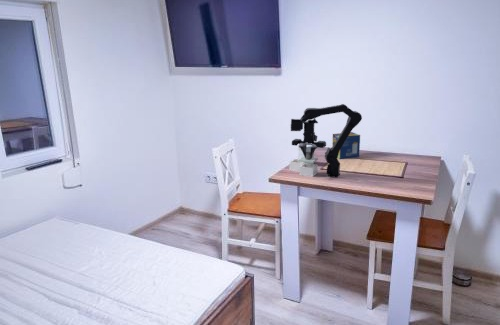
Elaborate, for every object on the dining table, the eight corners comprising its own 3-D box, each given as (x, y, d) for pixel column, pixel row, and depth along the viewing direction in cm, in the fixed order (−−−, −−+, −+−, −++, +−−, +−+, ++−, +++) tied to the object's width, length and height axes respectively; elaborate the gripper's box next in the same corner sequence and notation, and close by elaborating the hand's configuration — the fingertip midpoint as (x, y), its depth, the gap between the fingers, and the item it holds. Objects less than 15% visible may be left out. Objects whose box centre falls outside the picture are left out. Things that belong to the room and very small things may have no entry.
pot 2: (317, 174, 217) (317, 164, 215) (312, 178, 210) (312, 168, 208) (304, 172, 220) (304, 163, 219) (299, 176, 213) (299, 166, 212)
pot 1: (306, 169, 227) (306, 160, 225) (302, 173, 220) (302, 163, 218) (294, 168, 230) (294, 158, 229) (289, 171, 224) (289, 162, 222)
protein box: (331, 155, 258) (332, 133, 254) (351, 153, 262) (352, 132, 258) (339, 159, 248) (340, 136, 244) (359, 157, 253) (360, 134, 249)
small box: (313, 166, 234) (314, 145, 231) (305, 167, 231) (305, 147, 228) (305, 163, 241) (306, 143, 238) (297, 164, 238) (298, 144, 235)
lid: (318, 159, 214) (318, 151, 213) (313, 163, 207) (313, 154, 206) (303, 157, 218) (304, 149, 217) (298, 161, 211) (298, 153, 210)
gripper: (329, 129, 211) (328, 156, 215) (298, 127, 219) (298, 153, 223) (323, 133, 201) (322, 160, 205) (291, 130, 210) (291, 157, 214)
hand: (308, 157), depth 212 cm, fingers closed on lid, 3 cm apart
